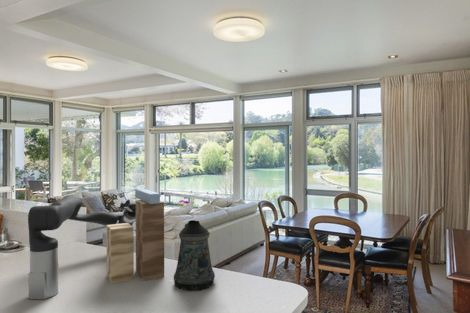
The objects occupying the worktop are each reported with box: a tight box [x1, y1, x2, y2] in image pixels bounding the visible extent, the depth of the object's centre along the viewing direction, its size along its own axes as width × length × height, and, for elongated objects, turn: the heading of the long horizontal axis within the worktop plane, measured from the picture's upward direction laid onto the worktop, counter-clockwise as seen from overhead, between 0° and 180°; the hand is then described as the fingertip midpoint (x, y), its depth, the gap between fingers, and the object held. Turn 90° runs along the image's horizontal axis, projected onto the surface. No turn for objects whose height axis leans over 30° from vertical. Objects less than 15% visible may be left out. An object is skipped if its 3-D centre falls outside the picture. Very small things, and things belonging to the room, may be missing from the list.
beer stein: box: [173, 220, 216, 292], centre depth 137 cm, size 16×19×25 cm
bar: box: [134, 188, 161, 204], centre depth 150 cm, size 24×4×4 cm, turn 31°
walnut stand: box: [134, 199, 165, 282], centre depth 147 cm, size 12×9×32 cm
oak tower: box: [105, 223, 135, 284], centre depth 143 cm, size 10×9×22 cm
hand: (138, 200), depth 162 cm, fingers open, 8 cm apart
